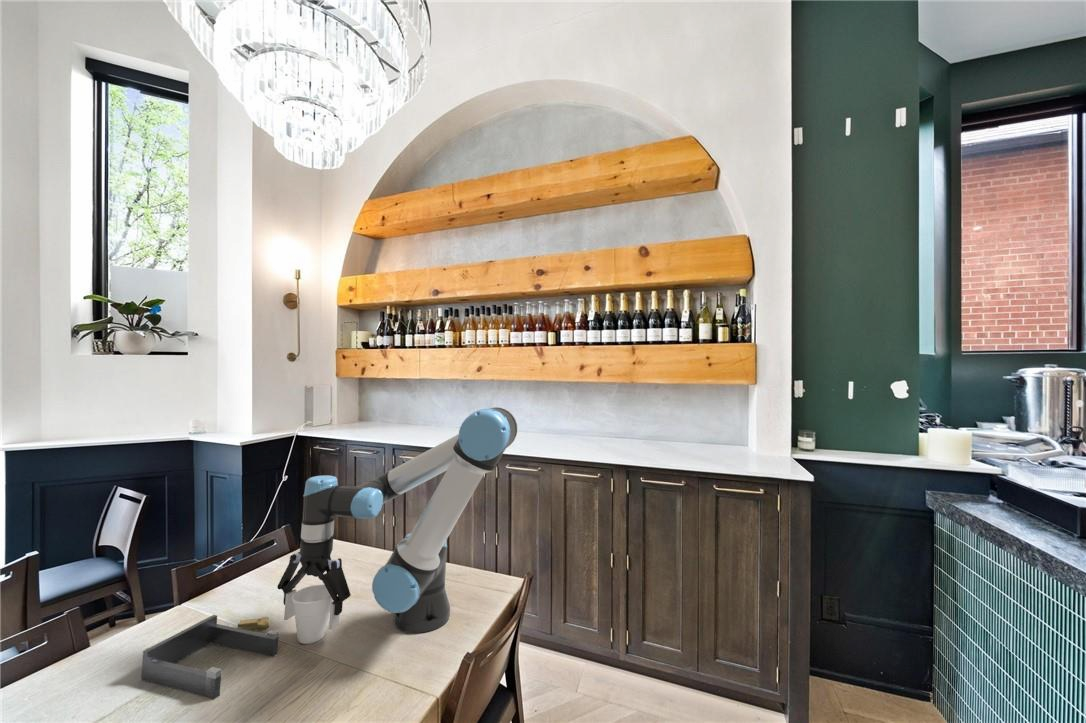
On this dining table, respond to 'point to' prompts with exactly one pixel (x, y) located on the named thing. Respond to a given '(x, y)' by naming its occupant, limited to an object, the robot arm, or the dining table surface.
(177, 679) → the grey u-shaped bracket
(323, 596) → the cup
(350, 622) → the dining table surface
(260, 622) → the brass key block
